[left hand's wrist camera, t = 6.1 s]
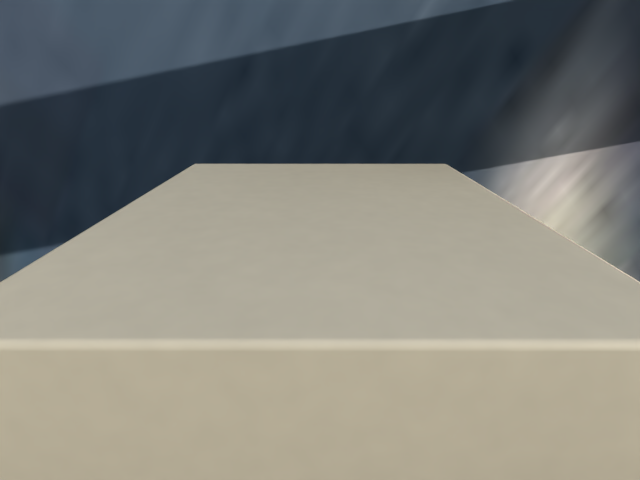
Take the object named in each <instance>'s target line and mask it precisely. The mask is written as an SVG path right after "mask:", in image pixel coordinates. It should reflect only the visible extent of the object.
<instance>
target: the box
mask: <svg viewBox="0 0 640 480" xmlns="http://www.w3.org/2000/svg"><path fill="white" fill-rule="evenodd" d="M0 480H640V282H639V281H637V280H635V279H634V278H632V277H630V276H629V275H627V274H625V273H624V272H622V271H621V270H619V269H617V268H616V267H614V266H612V265H611V264H609V263H607V262H606V261H604V260H603V259H601V258H599V257H598V256H596V255H594V254H593V253H591V252H589V251H588V250H586V249H584V248H583V247H581V246H580V245H578V244H576V243H575V242H573V241H571V240H570V239H568V238H566V237H565V236H563V235H562V234H560V233H558V232H557V231H555V230H553V229H552V228H550V227H548V226H547V225H545V224H543V223H542V222H540V221H539V220H537V219H535V218H534V217H532V216H530V215H529V214H527V213H525V212H524V211H522V210H521V209H519V208H517V207H516V206H514V205H512V204H511V203H509V202H507V201H506V200H504V199H503V198H501V197H499V196H498V195H496V194H494V193H493V192H491V191H489V190H488V189H486V188H484V187H483V186H481V185H480V184H478V183H476V182H475V181H473V180H471V179H470V178H468V177H466V176H465V175H463V174H462V173H460V172H458V171H457V170H455V169H453V168H452V167H450V166H448V165H447V164H194V165H192V166H190V167H189V168H187V169H185V170H184V171H182V172H180V173H179V174H177V175H176V176H174V177H172V178H171V179H169V180H167V181H166V182H164V183H162V184H161V185H159V186H157V187H156V188H154V189H153V190H151V191H149V192H148V193H146V194H144V195H143V196H141V197H139V198H138V199H136V200H135V201H133V202H131V203H130V204H128V205H126V206H125V207H123V208H121V209H120V210H118V211H116V212H115V213H113V214H112V215H110V216H108V217H107V218H105V219H103V220H102V221H100V222H98V223H97V224H95V225H93V226H92V227H90V228H89V229H87V230H85V231H84V232H82V233H80V234H79V235H77V236H75V237H74V238H72V239H71V240H69V241H67V242H66V243H64V244H62V245H61V246H59V247H57V248H56V249H54V250H52V251H51V252H49V253H48V254H46V255H44V256H43V257H41V258H39V259H38V260H36V261H34V262H33V263H31V264H29V265H28V266H26V267H25V268H23V269H21V270H20V271H18V272H16V273H15V274H13V275H11V276H10V277H8V278H7V279H5V280H3V281H2V282H0Z"/></svg>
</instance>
